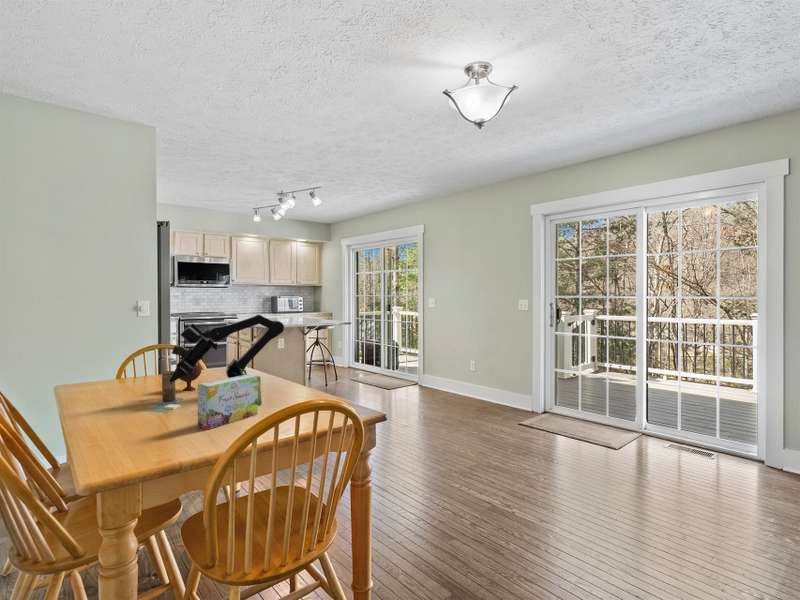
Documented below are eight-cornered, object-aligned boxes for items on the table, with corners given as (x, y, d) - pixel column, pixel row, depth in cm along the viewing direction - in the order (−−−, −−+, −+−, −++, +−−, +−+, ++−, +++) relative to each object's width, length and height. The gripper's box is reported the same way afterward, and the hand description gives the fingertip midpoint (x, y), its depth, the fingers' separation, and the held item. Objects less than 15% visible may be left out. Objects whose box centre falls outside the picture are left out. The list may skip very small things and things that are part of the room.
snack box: (207, 430, 144) (206, 385, 144) (197, 428, 147) (196, 383, 147) (259, 414, 162) (258, 374, 162) (249, 412, 165) (248, 373, 165)
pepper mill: (177, 400, 181) (177, 371, 181) (166, 402, 177) (165, 373, 177) (171, 398, 184) (171, 370, 184) (160, 401, 180) (159, 372, 180)
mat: (181, 407, 172) (181, 404, 172) (166, 413, 164) (166, 410, 164) (159, 406, 174) (159, 403, 174) (143, 412, 166) (143, 408, 166)
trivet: (189, 399, 185) (189, 398, 185) (170, 406, 174) (170, 404, 174) (167, 398, 187) (167, 396, 187) (147, 404, 176) (147, 403, 176)
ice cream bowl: (206, 387, 206) (205, 356, 206) (192, 393, 195) (192, 360, 195) (185, 387, 207) (184, 356, 207) (170, 393, 196) (170, 359, 196)
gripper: (184, 336, 191) (157, 363, 187) (182, 340, 174) (152, 370, 170) (205, 352, 194) (178, 379, 190) (205, 358, 177) (175, 388, 173)
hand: (171, 379), depth 181 cm, fingers open, 9 cm apart
